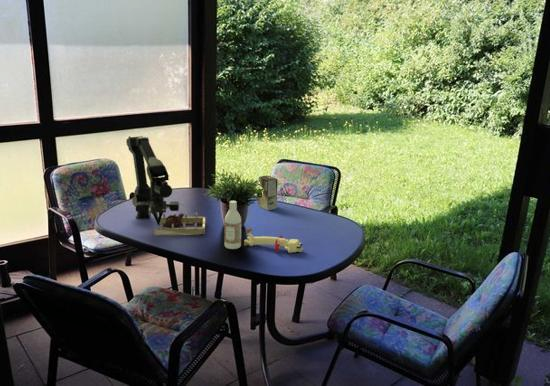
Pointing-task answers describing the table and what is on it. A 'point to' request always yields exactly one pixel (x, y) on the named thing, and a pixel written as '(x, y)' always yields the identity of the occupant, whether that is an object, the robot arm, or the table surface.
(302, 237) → the table surface
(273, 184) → the coffee box
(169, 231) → the dish rack
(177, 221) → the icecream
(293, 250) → the yellow toy animal
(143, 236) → the table surface
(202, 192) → the table surface
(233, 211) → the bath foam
